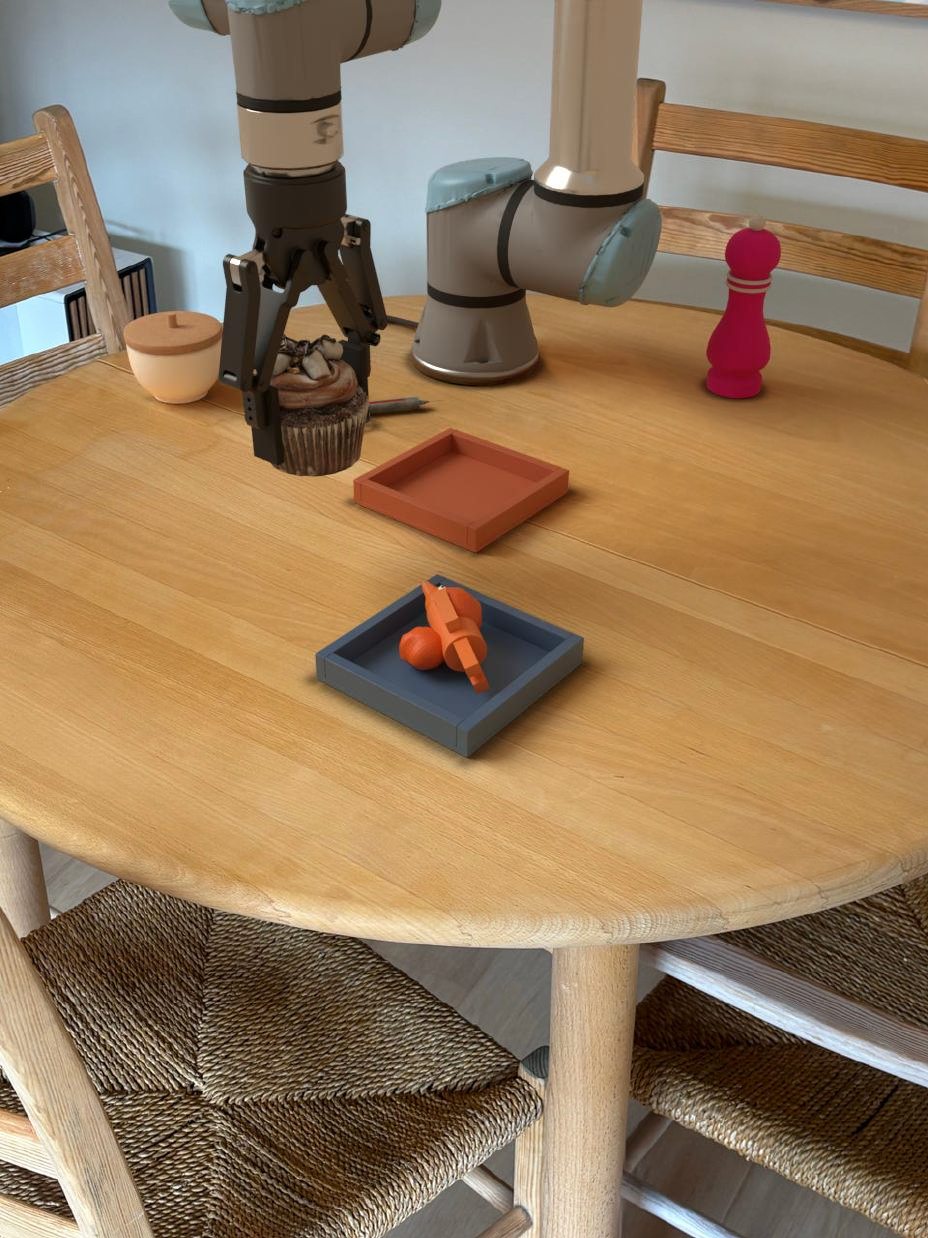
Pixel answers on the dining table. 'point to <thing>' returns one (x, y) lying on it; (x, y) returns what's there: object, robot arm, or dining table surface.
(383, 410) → the syringe
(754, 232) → the pepper mill
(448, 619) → the orange toy bird
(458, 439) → the terracotta tray
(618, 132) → the robot arm
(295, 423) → the cupcake
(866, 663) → the dining table surface
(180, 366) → the trinket box
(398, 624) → the blue tray
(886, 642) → the dining table surface
